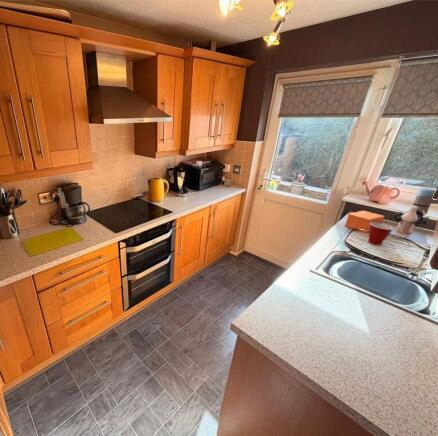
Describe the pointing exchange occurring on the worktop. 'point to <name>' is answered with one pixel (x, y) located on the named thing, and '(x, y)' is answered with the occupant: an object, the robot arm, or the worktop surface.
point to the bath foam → (407, 223)
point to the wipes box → (361, 223)
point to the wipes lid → (366, 215)
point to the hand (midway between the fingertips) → (406, 222)
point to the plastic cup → (378, 233)
